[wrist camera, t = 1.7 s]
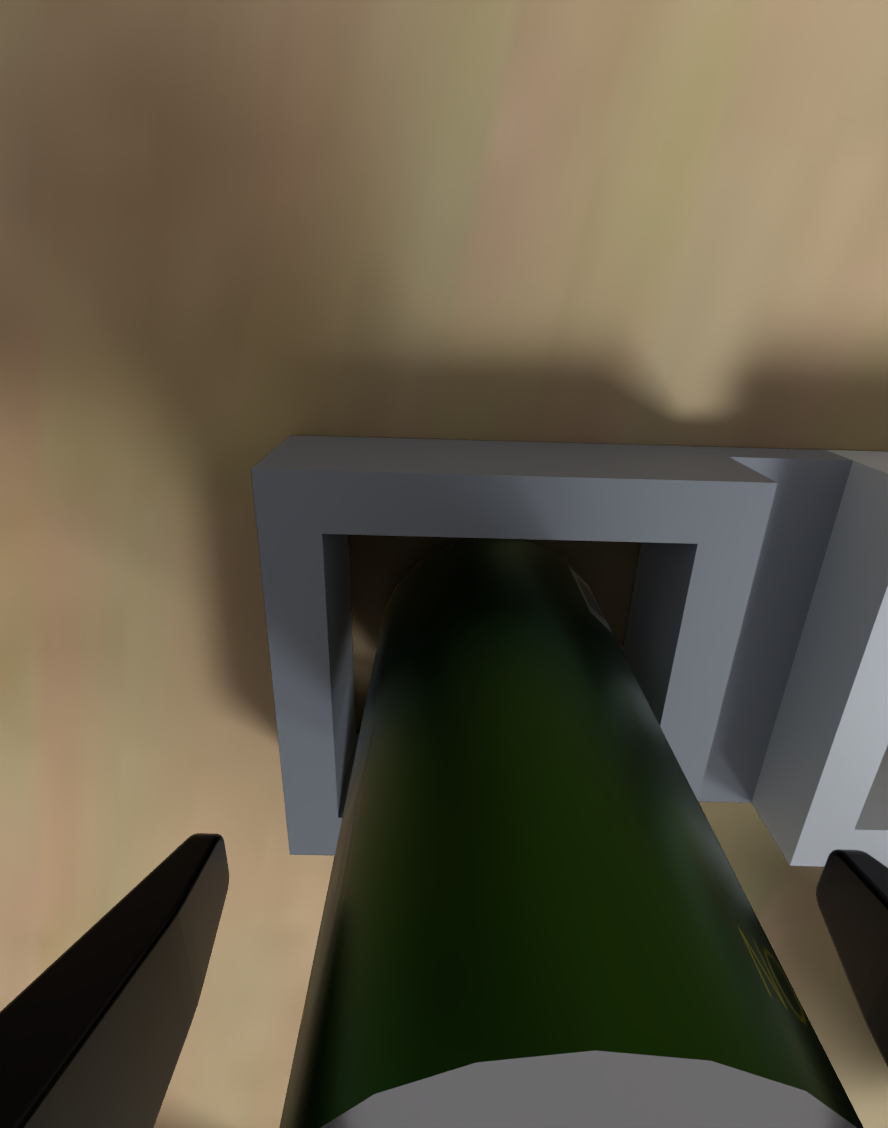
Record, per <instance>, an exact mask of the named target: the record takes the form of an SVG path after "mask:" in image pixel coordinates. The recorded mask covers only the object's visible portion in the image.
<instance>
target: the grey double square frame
mask: <svg viewBox="0 0 888 1128" xmlns="http://www.w3.org/2000/svg"><path fill="white" fill-rule="evenodd" d="M251 475H252V485H253V495H254V505H255V515H256V524H257V534H258V544H259V554H260V564H261V574H262V584H263V594H264V603H265V613H266V623H267V633H268V643H269V653H270V663H271V673H272V682H273V692H274V702H275V712H276V722H277V732H278V742H279V752H280V761H281V771H282V781H283V791H284V801H285V811H286V821H287V831H288V840H289V850H290V854H291V855H335V852H336V847H337V842H338V837H339V832H340V827H341V822H342V817H343V812H344V807H345V803H346V798H347V793H348V788H349V783H350V778H351V773H352V768H353V763H354V758H355V753H356V748H357V743H358V738H359V733H356V722H355V696H354V670H353V644H352V618H351V591H350V565H349V539H348V535H385V536H423V537H461V538H499V539H537V540H575V541H613V542H641V545H640V551H639V557H638V563H637V569H636V575H635V581H634V587H633V593H632V599H631V605H630V611H629V617H628V623H627V629H626V635H625V641H624V647H623V654H624V656H625V658H626V660H627V662H628V664H629V666H630V668H631V670H632V672H633V674H634V676H635V678H636V680H637V682H638V684H639V686H640V688H641V690H642V692H643V694H644V696H645V698H646V700H647V702H648V704H649V706H650V708H651V710H652V712H653V714H654V715H655V717H656V719H657V721H658V723H659V725H660V727H661V729H662V731H663V733H664V735H665V737H666V739H667V741H668V743H669V745H670V747H671V749H672V751H673V753H674V755H675V757H676V759H677V761H678V763H679V765H680V767H681V769H682V771H683V773H684V775H685V777H686V779H687V781H688V783H689V785H690V787H691V788H692V790H693V792H694V794H695V796H696V798H697V800H698V802H740V803H752V805H753V806H754V808H755V810H756V811H757V813H758V815H759V816H760V818H761V819H762V821H763V823H764V824H765V826H766V828H767V829H768V831H769V832H770V834H771V836H772V837H773V839H774V841H775V842H776V844H777V846H778V847H779V849H780V850H781V852H782V854H783V855H784V857H785V859H786V860H787V862H788V864H789V865H790V866H822V867H824V866H825V864H826V861H827V858H828V856H829V854H830V853H831V852H832V851H834V850H837V849H841V850H860V851H863V852H866V853H867V854H869V855H871V856H872V857H873V858H875V859H876V860H878V861H879V862H880V863H882V864H883V865H885V866H886V867H887V868H888V746H887V745H888V452H885V451H849V450H812V449H776V448H739V447H703V446H666V445H630V444H593V443H557V442H520V441H484V440H447V439H411V438H375V437H338V436H302V435H290V436H289V437H288V438H287V439H286V440H285V441H283V442H282V443H281V444H280V445H279V446H277V447H276V448H275V449H274V450H273V451H271V452H270V453H269V454H268V455H267V456H265V457H264V458H263V459H262V460H261V461H259V462H258V463H257V464H256V465H255V466H253V467H252V468H251Z"/></svg>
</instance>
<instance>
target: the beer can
mask: <svg viewBox="0 0 888 1128" xmlns="http://www.w3.org/2000/svg"><path fill="white" fill-rule="evenodd" d="M280 1128H863V1126H862V1124H861V1122H860V1120H859V1118H858V1116H857V1114H856V1112H855V1110H854V1108H853V1106H852V1104H851V1102H850V1100H849V1098H848V1096H847V1094H846V1092H845V1090H844V1088H843V1086H842V1084H841V1082H840V1080H839V1079H838V1077H837V1075H836V1073H835V1071H834V1069H833V1067H832V1065H831V1063H830V1061H829V1059H828V1057H827V1055H826V1053H825V1051H824V1049H823V1047H822V1045H821V1043H820V1041H819V1039H818V1037H817V1035H816V1033H815V1031H814V1029H813V1027H812V1025H811V1023H810V1021H809V1019H808V1017H807V1015H806V1013H805V1011H804V1009H803V1007H802V1006H801V1004H800V1002H799V1000H798V998H797V996H796V994H795V992H794V990H793V988H792V986H791V984H790V982H789V980H788V978H787V976H786V974H785V972H784V970H783V968H782V966H781V964H780V962H779V960H778V958H777V956H776V954H775V952H774V950H773V948H772V946H771V944H770V942H769V940H768V938H767V936H766V934H765V933H764V931H763V929H762V927H761V925H760V923H759V921H758V919H757V917H756V915H755V913H754V911H753V909H752V907H751V905H750V903H749V901H748V899H747V897H746V895H745V893H744V891H743V889H742V887H741V885H740V883H739V881H738V879H737V877H736V875H735V873H734V871H733V869H732V867H731V865H730V863H729V861H728V860H727V858H726V856H725V854H724V852H723V850H722V848H721V846H720V844H719V842H718V840H717V838H716V836H715V834H714V832H713V830H712V828H711V826H710V824H709V822H708V820H707V818H706V816H705V814H704V812H703V810H702V808H701V806H700V804H699V802H698V800H697V798H696V796H695V794H694V792H693V790H692V788H691V787H690V785H689V783H688V781H687V779H686V777H685V775H684V773H683V771H682V769H681V767H680V765H679V763H678V761H677V759H676V757H675V755H674V753H673V751H672V749H671V747H670V745H669V743H668V741H667V739H666V737H665V735H664V733H663V731H662V729H661V727H660V725H659V723H658V721H657V719H656V717H655V715H654V714H653V712H652V710H651V708H650V706H649V704H648V702H647V700H646V698H645V696H644V694H643V692H642V690H641V688H640V686H639V684H638V682H637V680H636V678H635V676H634V674H633V672H632V670H631V668H630V666H629V664H628V662H627V660H626V658H625V656H624V654H623V652H622V650H621V648H620V646H619V644H618V642H617V641H616V639H615V637H614V635H613V633H612V631H611V629H610V627H609V625H608V623H607V621H606V619H605V617H604V615H603V613H602V611H601V609H600V607H599V605H598V603H597V601H596V599H595V597H594V595H593V593H592V591H591V589H590V587H589V585H588V583H587V581H586V579H585V578H583V577H582V576H581V575H580V574H579V573H578V572H577V571H576V570H575V569H574V568H573V567H572V566H571V565H570V564H569V563H568V562H567V561H566V560H565V559H564V558H563V557H562V556H560V555H557V554H555V553H553V552H551V551H549V550H547V549H545V548H543V547H540V546H538V545H536V544H534V543H532V542H530V541H523V540H516V539H499V538H480V539H474V540H468V541H462V542H456V543H454V544H452V545H450V546H448V547H446V548H444V549H442V550H440V551H438V552H436V553H434V554H432V555H430V556H428V557H426V558H424V559H422V560H421V561H420V562H419V563H418V564H417V565H416V566H415V567H414V568H413V569H412V570H411V571H410V572H409V573H408V574H407V575H406V576H405V577H404V578H403V579H402V580H401V581H400V582H399V583H398V585H397V587H396V589H395V591H394V593H393V595H392V597H391V599H390V601H389V603H388V605H387V607H386V609H385V611H384V615H383V620H382V625H381V630H380V635H379V640H378V645H377V650H376V655H375V660H374V664H373V669H372V674H371V679H370V684H369V689H368V694H367V699H366V704H365V709H364V714H363V719H362V724H361V729H360V733H359V738H358V743H357V748H356V753H355V758H354V763H353V768H352V773H351V778H350V783H349V788H348V793H347V798H346V803H345V807H344V812H343V817H342V822H341V827H340V832H339V837H338V842H337V847H336V852H335V857H334V862H333V867H332V872H331V876H330V881H329V886H328V891H327V896H326V901H325V906H324V911H323V916H322V921H321V926H320V931H319V936H318V941H317V945H316V950H315V955H314V960H313V965H312V970H311V975H310V980H309V985H308V990H307V995H306V1000H305V1005H304V1010H303V1014H302V1019H301V1024H300V1029H299V1034H298V1039H297V1044H296V1049H295V1054H294V1059H293V1064H292V1069H291V1074H290V1079H289V1083H288V1088H287V1093H286V1098H285V1103H284V1108H283V1113H282V1118H281V1123H280Z"/></svg>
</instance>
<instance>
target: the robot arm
mask: <svg viewBox="0 0 888 1128" xmlns="http://www.w3.org/2000/svg"><path fill="white" fill-rule="evenodd" d="M228 885H229V870H228V864H227V857H226V851H225V844H224V840H223V837H222V836H221V835H219V834H204V833H197V834H194V835H192V836H190V837H189V838H188V839H187V840H186V841H184V842H183V843H182V844H181V845H180V846H179V847H178V848H177V849H176V850H175V851H174V852H173V853H171V854H170V855H169V856H168V857H167V858H166V859H165V860H164V861H163V862H162V863H161V864H160V865H158V866H157V867H156V868H155V869H154V870H153V871H152V872H151V873H150V874H149V875H148V876H147V877H146V878H144V879H143V880H142V881H141V882H140V883H139V884H138V885H137V886H136V887H135V888H134V889H133V890H131V891H130V892H129V893H128V894H127V895H126V896H125V897H124V898H123V899H122V900H121V901H120V902H119V903H117V904H116V905H115V906H114V907H113V908H112V909H111V910H110V911H109V912H108V913H107V914H106V915H104V916H103V917H102V918H101V919H100V920H99V921H98V922H97V923H96V924H95V925H94V926H93V927H92V928H90V929H89V930H88V931H87V932H86V933H85V934H84V935H83V936H82V937H81V938H80V939H79V940H77V941H76V942H75V943H74V944H73V945H72V946H71V947H70V948H69V949H68V950H67V951H66V952H65V953H63V954H62V955H61V956H60V957H59V958H58V959H57V960H56V961H55V962H54V963H53V964H52V965H50V966H49V967H48V968H47V969H46V970H45V971H44V972H43V973H42V974H41V975H40V976H39V977H38V978H36V979H35V980H34V981H33V982H32V983H31V984H30V985H29V986H28V987H27V988H26V989H25V990H23V991H22V992H21V993H20V994H19V995H18V996H17V997H16V998H15V999H14V1000H13V1001H12V1002H10V1003H9V1004H8V1005H7V1006H6V1007H5V1008H4V1009H3V1010H2V1011H1V1012H0V1128H153V1127H154V1124H155V1122H156V1119H157V1116H158V1113H159V1111H160V1108H161V1105H162V1102H163V1100H164V1097H165V1094H166V1091H167V1089H168V1086H169V1083H170V1080H171V1078H172V1075H173V1072H174V1069H175V1067H176V1064H177V1061H178V1059H179V1056H180V1053H181V1050H182V1048H183V1045H184V1042H185V1039H186V1037H187V1034H188V1031H189V1028H190V1026H191V1023H192V1020H193V1017H194V1014H195V1011H196V1008H197V1005H198V1001H199V998H200V994H201V991H202V987H203V983H204V979H205V976H206V972H207V968H208V964H209V960H210V956H211V952H212V949H213V945H214V941H215V937H216V933H217V929H218V925H219V921H220V918H221V914H222V910H223V906H224V902H225V898H226V894H227V890H228ZM816 896H817V902H818V905H819V908H820V911H821V913H822V916H823V918H824V921H825V923H826V926H827V928H828V931H829V933H830V936H831V938H832V941H833V943H834V946H835V948H836V951H837V953H838V956H839V958H840V961H841V963H842V966H843V968H844V971H845V973H846V976H847V978H848V981H849V983H850V986H851V988H852V991H853V993H854V996H855V998H856V1001H857V1003H858V1005H859V1008H860V1010H861V1012H862V1015H863V1017H864V1019H865V1021H866V1024H867V1026H868V1028H869V1030H870V1032H871V1034H872V1036H873V1038H874V1040H875V1042H876V1044H877V1046H878V1048H879V1050H880V1052H881V1054H882V1056H883V1058H884V1060H885V1062H886V1064H887V1066H888V868H887V867H886V866H885V865H883V864H882V863H880V862H879V861H878V860H876V859H875V858H873V857H872V856H871V855H869V854H867V853H866V852H863V851H860V850H841V849H837V850H834V851H832V852H831V853H830V854H829V856H828V858H827V861H826V864H825V866H824V869H823V872H822V874H821V877H820V879H819V882H818V885H817V890H816Z"/></svg>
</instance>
